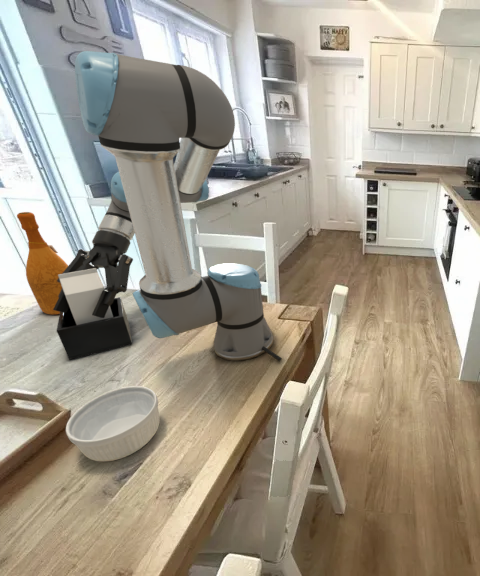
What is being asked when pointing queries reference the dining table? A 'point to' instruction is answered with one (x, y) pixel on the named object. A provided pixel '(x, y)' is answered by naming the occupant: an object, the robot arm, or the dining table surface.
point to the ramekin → (115, 423)
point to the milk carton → (83, 294)
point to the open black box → (94, 333)
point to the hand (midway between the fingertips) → (78, 314)
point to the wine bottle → (42, 265)
